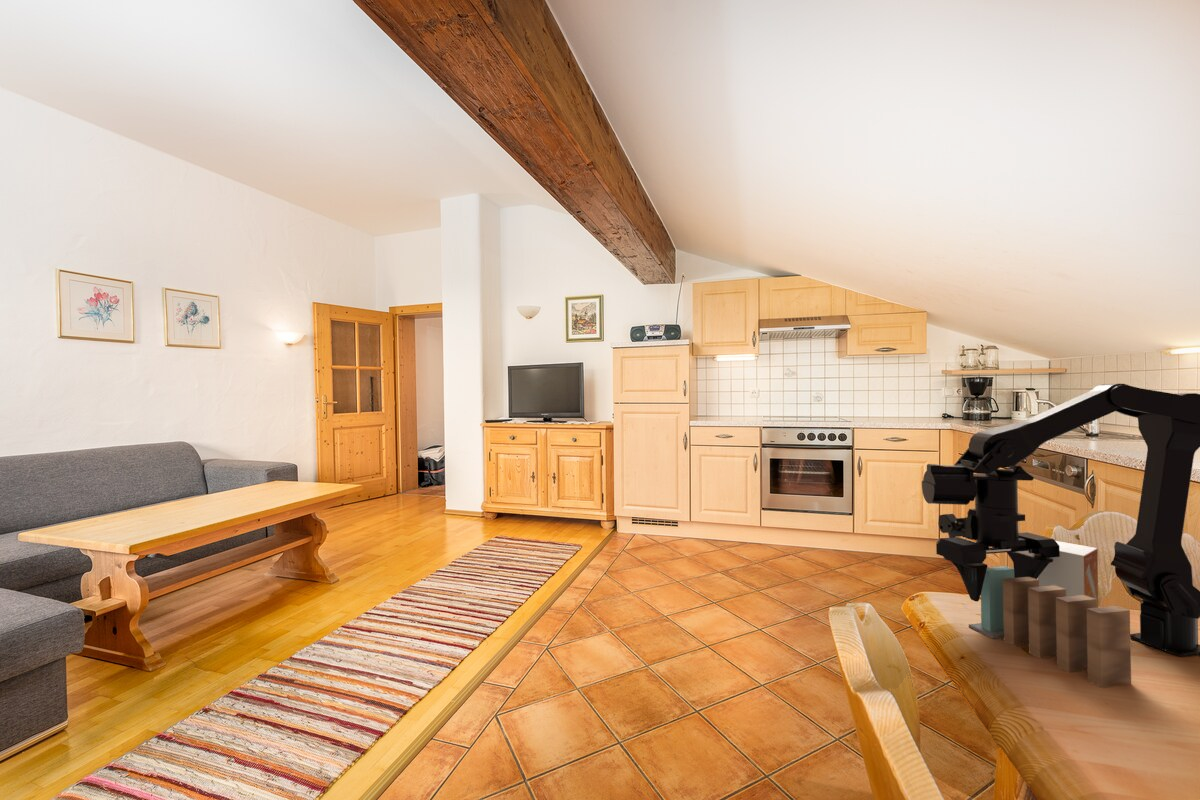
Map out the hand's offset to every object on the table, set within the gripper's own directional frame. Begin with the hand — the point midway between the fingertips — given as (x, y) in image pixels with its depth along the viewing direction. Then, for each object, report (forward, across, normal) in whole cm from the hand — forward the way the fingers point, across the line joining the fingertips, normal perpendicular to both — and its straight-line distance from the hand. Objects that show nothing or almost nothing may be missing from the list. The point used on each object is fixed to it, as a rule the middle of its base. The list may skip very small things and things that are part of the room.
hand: (997, 598), depth 85 cm
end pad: (+5, 0, 0) cm, 5 cm away
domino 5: (+5, 0, +16) cm, 17 cm away
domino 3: (+5, 0, +8) cm, 10 cm away
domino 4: (+5, 0, +12) cm, 13 cm away
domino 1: (+5, 0, 0) cm, 5 cm away
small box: (+6, -15, 0) cm, 16 cm away
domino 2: (+5, 0, +4) cm, 7 cm away
